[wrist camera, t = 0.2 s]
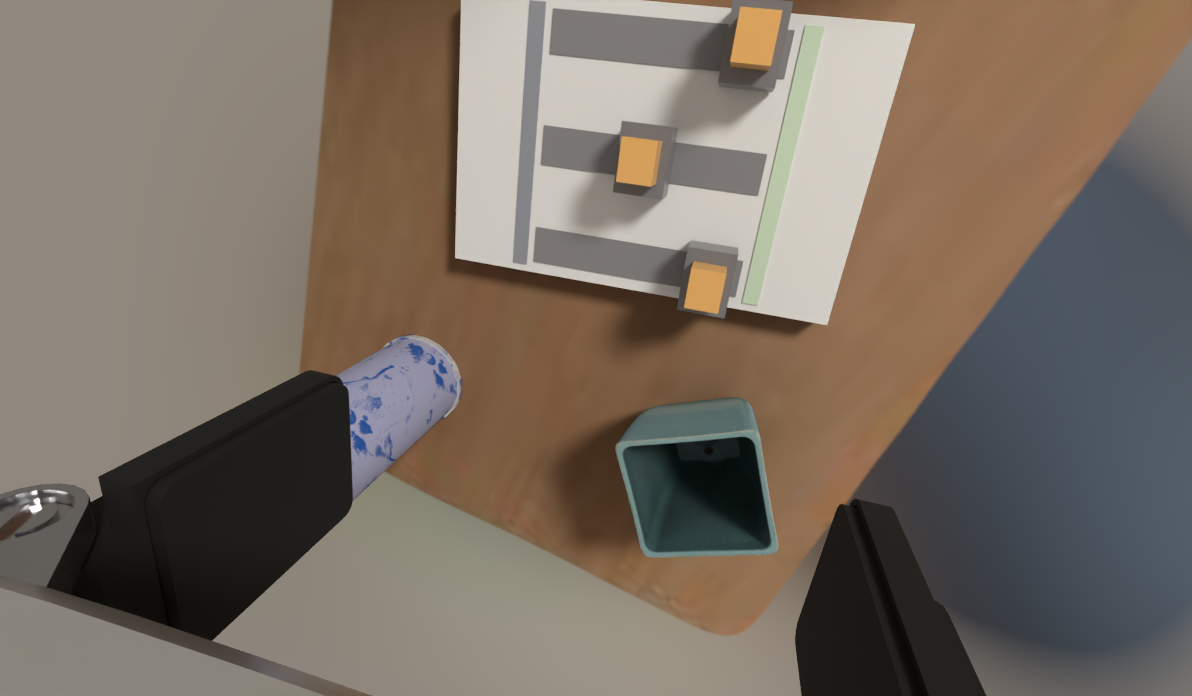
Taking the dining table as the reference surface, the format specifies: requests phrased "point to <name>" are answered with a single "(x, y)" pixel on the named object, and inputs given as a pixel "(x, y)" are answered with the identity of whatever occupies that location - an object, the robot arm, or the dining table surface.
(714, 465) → the flower pot
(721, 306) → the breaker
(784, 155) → the panel
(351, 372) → the aerosol can
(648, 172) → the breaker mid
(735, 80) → the block
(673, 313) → the dining table surface
